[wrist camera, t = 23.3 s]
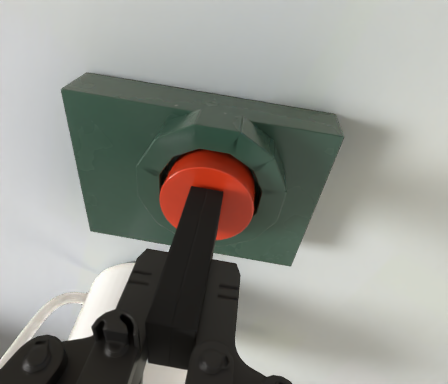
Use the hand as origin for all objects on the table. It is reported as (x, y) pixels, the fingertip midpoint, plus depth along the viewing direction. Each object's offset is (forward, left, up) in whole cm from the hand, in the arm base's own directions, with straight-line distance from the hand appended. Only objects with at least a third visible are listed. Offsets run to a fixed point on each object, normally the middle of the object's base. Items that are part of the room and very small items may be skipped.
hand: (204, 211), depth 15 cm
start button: (0, 0, -2) cm, 2 cm away
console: (-1, -1, -6) cm, 6 cm away
